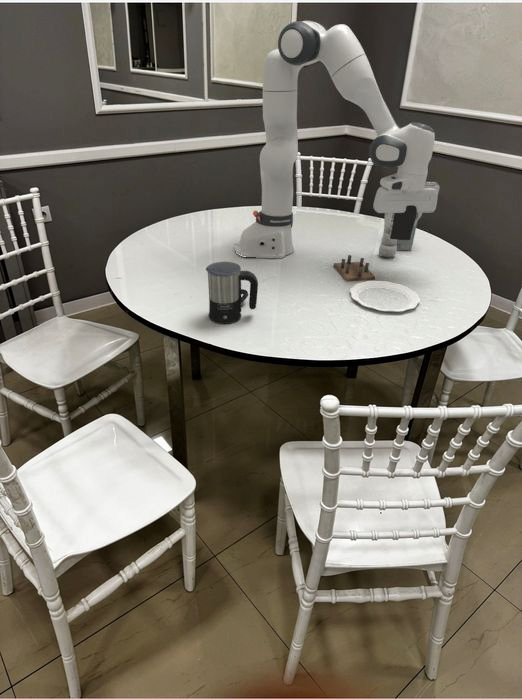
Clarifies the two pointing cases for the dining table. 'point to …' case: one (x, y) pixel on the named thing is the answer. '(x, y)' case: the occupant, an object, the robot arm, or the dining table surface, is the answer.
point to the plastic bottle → (387, 242)
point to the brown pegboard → (354, 270)
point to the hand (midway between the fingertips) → (400, 225)
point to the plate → (388, 285)
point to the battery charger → (403, 223)
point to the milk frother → (229, 291)
